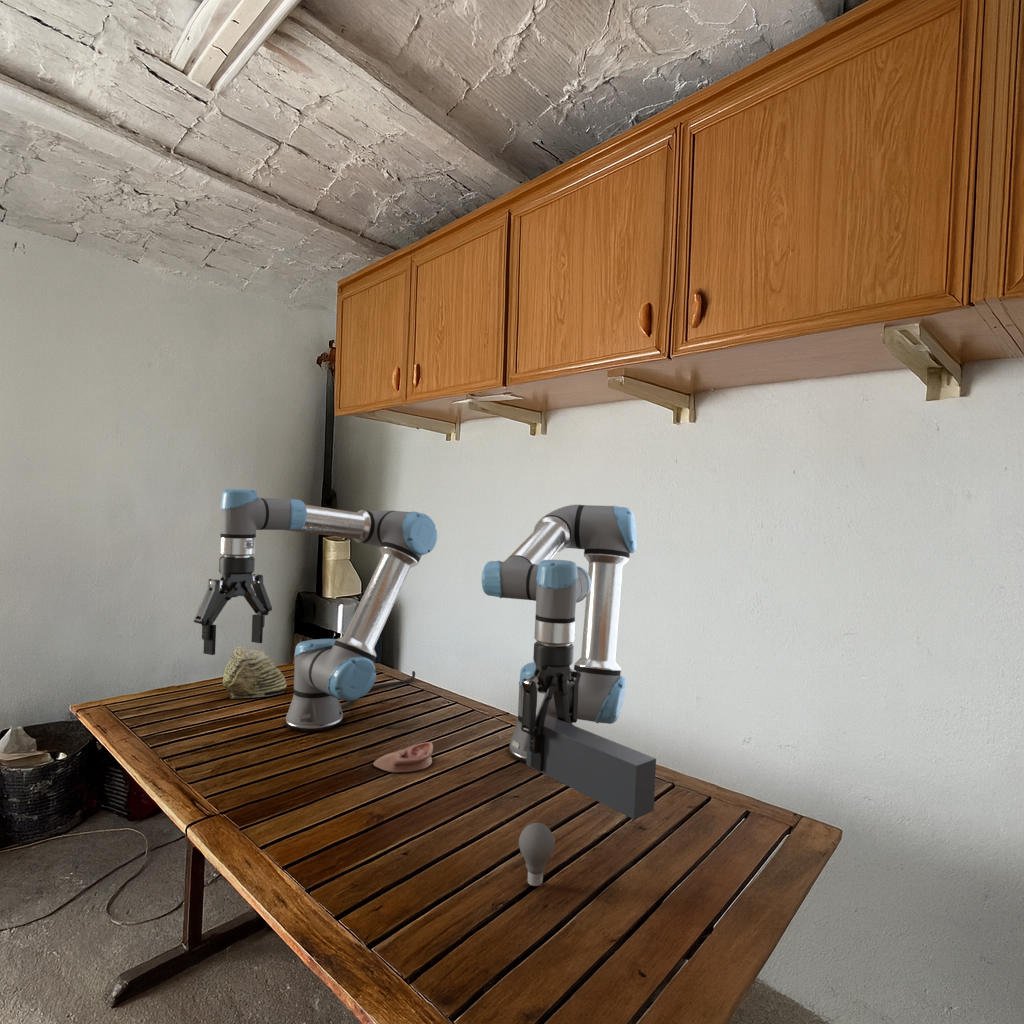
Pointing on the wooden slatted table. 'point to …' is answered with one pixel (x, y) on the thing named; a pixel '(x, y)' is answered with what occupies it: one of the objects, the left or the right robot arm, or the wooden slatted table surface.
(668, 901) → the wooden slatted table surface
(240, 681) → the fossil
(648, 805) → the bar
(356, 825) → the wooden slatted table surface
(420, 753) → the anatomical model
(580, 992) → the wooden slatted table surface
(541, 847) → the light bulb
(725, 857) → the wooden slatted table surface
